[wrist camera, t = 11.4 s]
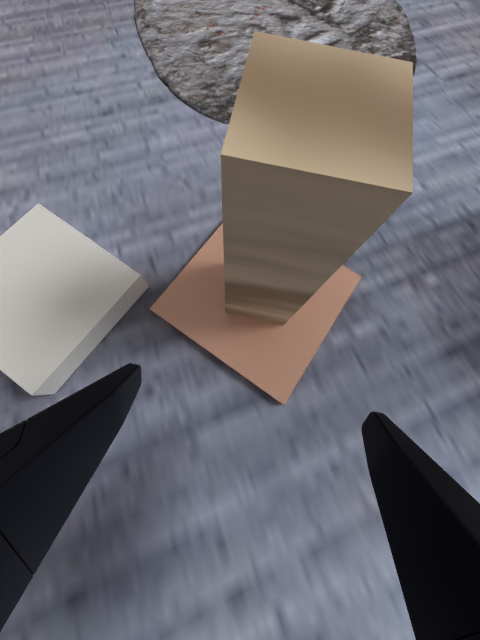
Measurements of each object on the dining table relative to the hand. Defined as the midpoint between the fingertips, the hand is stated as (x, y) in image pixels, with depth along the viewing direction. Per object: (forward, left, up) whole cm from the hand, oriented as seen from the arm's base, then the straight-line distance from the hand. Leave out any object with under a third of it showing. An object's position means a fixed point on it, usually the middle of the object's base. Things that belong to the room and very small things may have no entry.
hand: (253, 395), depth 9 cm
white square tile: (-3, +16, -8) cm, 18 cm away
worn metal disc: (+37, +22, -9) cm, 44 cm away
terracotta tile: (+7, +3, -8) cm, 11 cm away
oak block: (+7, +3, -8) cm, 11 cm away
